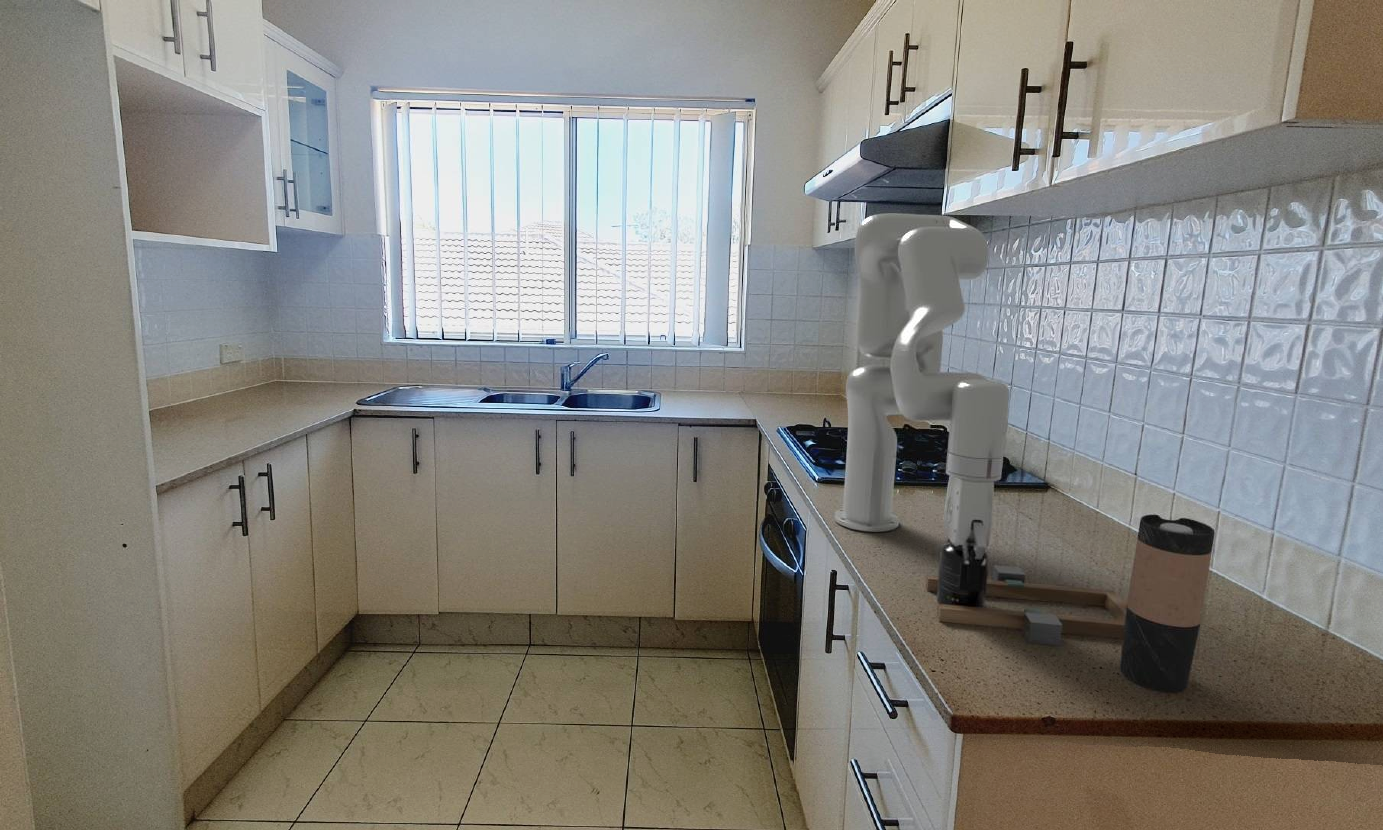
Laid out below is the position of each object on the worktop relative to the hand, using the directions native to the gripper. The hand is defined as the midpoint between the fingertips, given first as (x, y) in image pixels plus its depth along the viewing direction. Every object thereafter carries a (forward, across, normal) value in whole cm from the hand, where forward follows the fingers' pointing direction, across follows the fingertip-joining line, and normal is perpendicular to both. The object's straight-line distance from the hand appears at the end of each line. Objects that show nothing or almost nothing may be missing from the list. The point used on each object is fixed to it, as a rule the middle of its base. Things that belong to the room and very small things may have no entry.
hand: (963, 576), depth 107 cm
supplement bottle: (+5, 0, 0) cm, 5 cm away
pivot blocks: (+5, 0, +9) cm, 10 cm away
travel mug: (+5, +16, +20) cm, 26 cm away
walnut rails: (+5, 0, +9) cm, 10 cm away
